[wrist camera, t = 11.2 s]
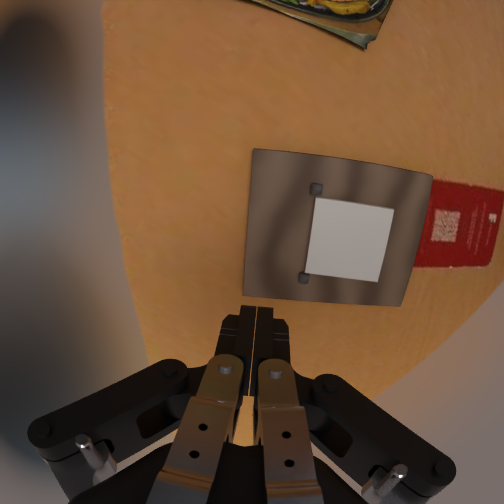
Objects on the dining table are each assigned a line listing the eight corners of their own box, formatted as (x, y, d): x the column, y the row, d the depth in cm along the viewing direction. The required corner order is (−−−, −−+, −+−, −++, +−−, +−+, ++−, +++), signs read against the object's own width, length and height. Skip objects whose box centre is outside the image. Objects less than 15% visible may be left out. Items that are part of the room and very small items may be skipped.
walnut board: (428, 174, 36) (438, 178, 34) (397, 301, 44) (403, 311, 41) (253, 148, 37) (252, 149, 34) (243, 290, 45) (241, 300, 42)
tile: (315, 197, 36) (315, 196, 37) (304, 272, 40) (305, 269, 41) (394, 209, 35) (392, 207, 36) (377, 282, 39) (376, 278, 40)
